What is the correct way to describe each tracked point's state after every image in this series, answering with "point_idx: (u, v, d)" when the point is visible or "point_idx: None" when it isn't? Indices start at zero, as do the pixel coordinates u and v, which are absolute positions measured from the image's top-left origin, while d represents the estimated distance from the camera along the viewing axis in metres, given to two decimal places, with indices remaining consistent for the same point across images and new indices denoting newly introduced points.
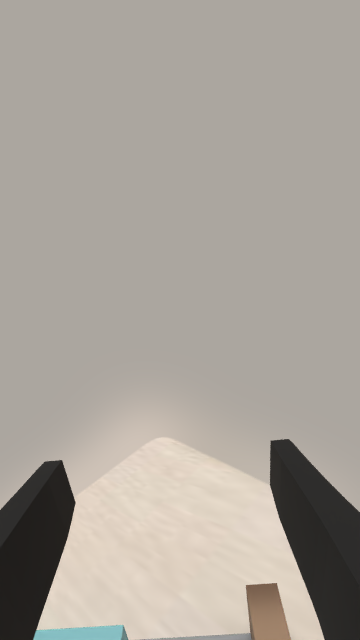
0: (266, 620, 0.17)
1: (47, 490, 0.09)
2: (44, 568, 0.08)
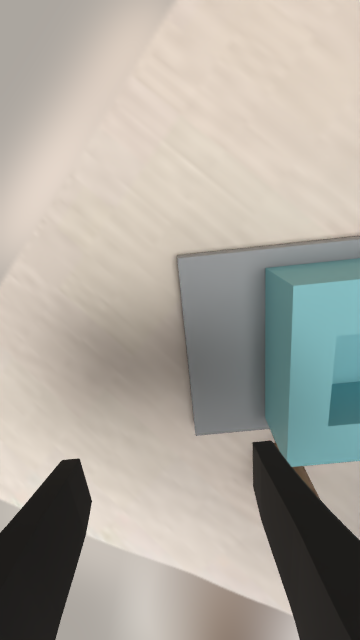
0: None
1: (67, 489, 0.09)
2: (64, 567, 0.08)
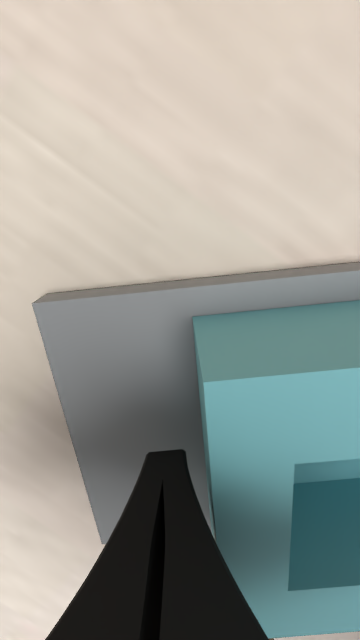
0: None
1: (165, 479, 0.09)
2: None
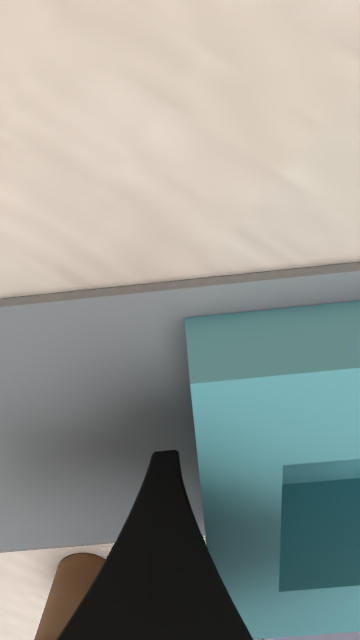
0: None
1: (171, 479, 0.09)
2: None
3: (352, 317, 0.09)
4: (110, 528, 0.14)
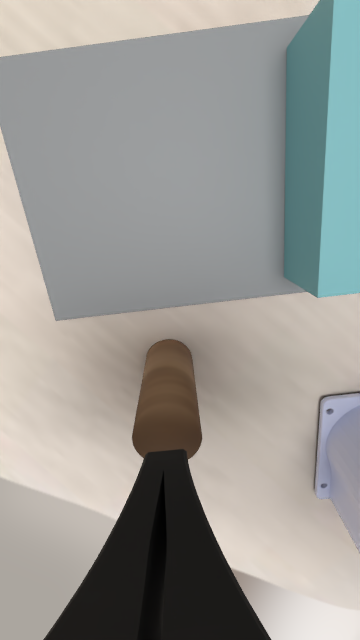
0: None
1: (164, 479, 0.09)
2: None
3: None
4: (204, 285, 0.16)
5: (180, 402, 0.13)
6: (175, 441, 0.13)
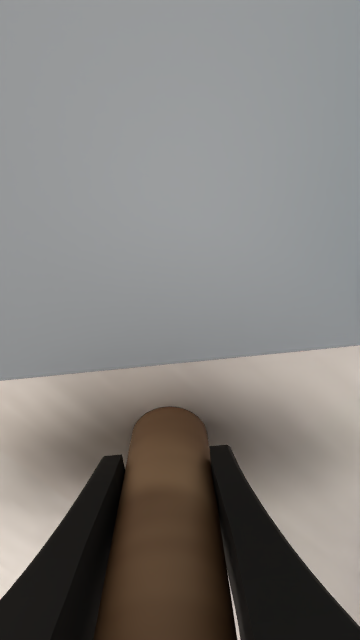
0: None
1: (114, 484, 0.09)
2: None
3: None
4: (238, 326, 0.09)
5: (197, 636, 0.05)
6: None
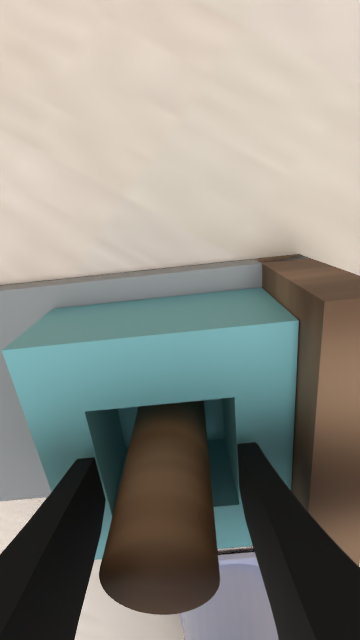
0: (353, 363, 0.08)
1: (83, 487, 0.09)
2: (82, 565, 0.08)
3: (164, 306, 0.11)
4: (21, 485, 0.16)
5: (189, 517, 0.07)
6: (174, 584, 0.07)
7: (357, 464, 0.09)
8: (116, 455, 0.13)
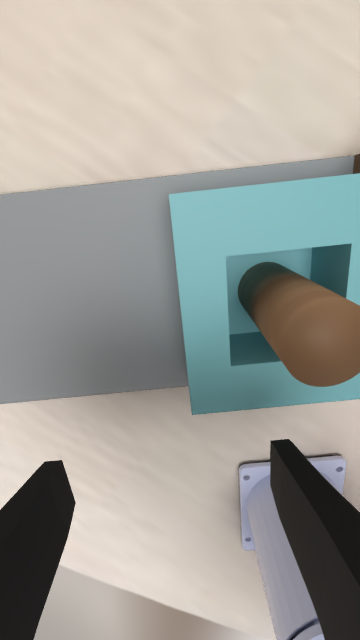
0: None
1: (47, 490, 0.09)
2: (44, 568, 0.08)
3: None
4: (119, 378, 0.18)
5: None
6: (340, 352, 0.09)
7: None
8: None
